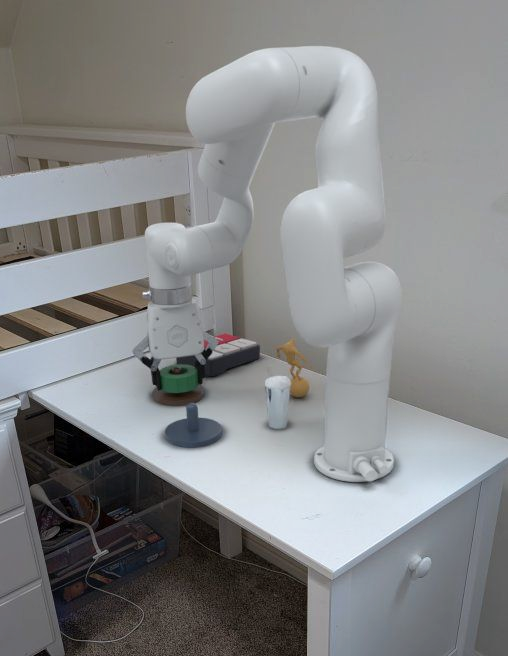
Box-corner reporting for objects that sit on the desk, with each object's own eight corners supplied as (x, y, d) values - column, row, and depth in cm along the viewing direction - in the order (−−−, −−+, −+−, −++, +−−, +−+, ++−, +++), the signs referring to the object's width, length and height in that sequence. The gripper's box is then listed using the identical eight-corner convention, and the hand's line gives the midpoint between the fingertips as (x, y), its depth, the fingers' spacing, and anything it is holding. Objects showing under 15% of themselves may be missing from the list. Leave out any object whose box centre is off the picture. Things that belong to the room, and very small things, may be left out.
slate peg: (228, 442, 127) (227, 410, 124) (171, 451, 125) (168, 419, 122) (214, 419, 136) (212, 388, 133) (160, 427, 134) (157, 396, 131)
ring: (202, 389, 142) (201, 374, 141) (163, 395, 141) (162, 380, 139) (193, 376, 148) (192, 362, 147) (157, 381, 147) (155, 367, 145)
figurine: (321, 399, 142) (323, 338, 136) (300, 408, 138) (300, 347, 133) (290, 387, 147) (290, 329, 141) (268, 396, 144) (267, 337, 138)
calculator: (260, 341, 161) (210, 357, 151) (260, 360, 163) (210, 377, 153) (225, 331, 167) (174, 345, 158) (225, 349, 169) (175, 365, 160)
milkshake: (280, 416, 136) (280, 364, 131) (295, 427, 132) (295, 374, 127) (258, 421, 134) (257, 369, 129) (272, 433, 130) (272, 379, 125)
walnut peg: (209, 401, 143) (207, 372, 140) (158, 408, 141) (155, 379, 138) (197, 382, 151) (195, 354, 148) (149, 389, 149) (146, 361, 146)
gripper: (126, 305, 131) (137, 398, 139) (222, 294, 135) (227, 385, 143) (120, 295, 137) (131, 384, 146) (212, 284, 141) (217, 372, 150)
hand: (179, 384), depth 144 cm, fingers closed on ring, 7 cm apart
